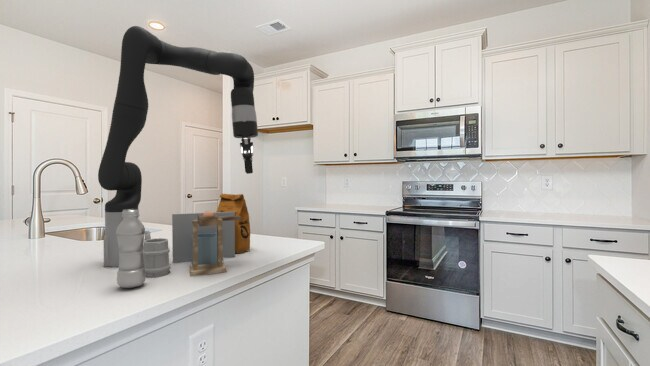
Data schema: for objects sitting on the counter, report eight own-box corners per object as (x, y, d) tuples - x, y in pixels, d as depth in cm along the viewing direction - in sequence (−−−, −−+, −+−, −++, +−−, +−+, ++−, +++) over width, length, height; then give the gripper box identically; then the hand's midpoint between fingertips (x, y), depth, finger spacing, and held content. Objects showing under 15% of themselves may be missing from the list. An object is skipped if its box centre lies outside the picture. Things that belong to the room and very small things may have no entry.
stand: (190, 276, 92) (189, 222, 91) (189, 269, 98) (189, 219, 98) (226, 272, 96) (226, 220, 95) (223, 266, 102) (223, 217, 102)
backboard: (172, 262, 106) (172, 214, 106) (172, 261, 107) (172, 214, 107) (234, 256, 114) (234, 211, 114) (234, 256, 115) (234, 211, 115)
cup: (191, 268, 100) (191, 238, 100) (191, 261, 108) (191, 234, 108) (220, 265, 103) (220, 236, 103) (218, 258, 111) (218, 232, 111)
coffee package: (236, 255, 116) (236, 194, 116) (212, 251, 122) (211, 193, 122) (254, 250, 125) (254, 193, 124) (231, 246, 131) (231, 192, 130)
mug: (148, 279, 89) (147, 236, 89) (131, 271, 96) (130, 231, 96) (175, 273, 95) (175, 232, 94) (157, 266, 102) (157, 228, 102)
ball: (203, 222, 91) (203, 211, 91) (202, 220, 94) (202, 210, 94) (214, 221, 93) (214, 211, 93) (213, 220, 95) (213, 210, 95)
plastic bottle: (125, 293, 78) (124, 211, 78) (111, 288, 82) (110, 210, 82) (151, 285, 84) (150, 209, 83) (137, 281, 87) (136, 207, 87)
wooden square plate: (199, 226, 90) (199, 217, 90) (197, 220, 102) (197, 212, 102) (246, 223, 95) (246, 215, 95) (239, 218, 107) (239, 210, 107)
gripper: (233, 126, 107) (238, 174, 107) (230, 118, 93) (235, 173, 93) (256, 125, 108) (260, 172, 109) (257, 116, 95) (261, 171, 95)
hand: (249, 173), depth 101 cm, fingers open, 8 cm apart
